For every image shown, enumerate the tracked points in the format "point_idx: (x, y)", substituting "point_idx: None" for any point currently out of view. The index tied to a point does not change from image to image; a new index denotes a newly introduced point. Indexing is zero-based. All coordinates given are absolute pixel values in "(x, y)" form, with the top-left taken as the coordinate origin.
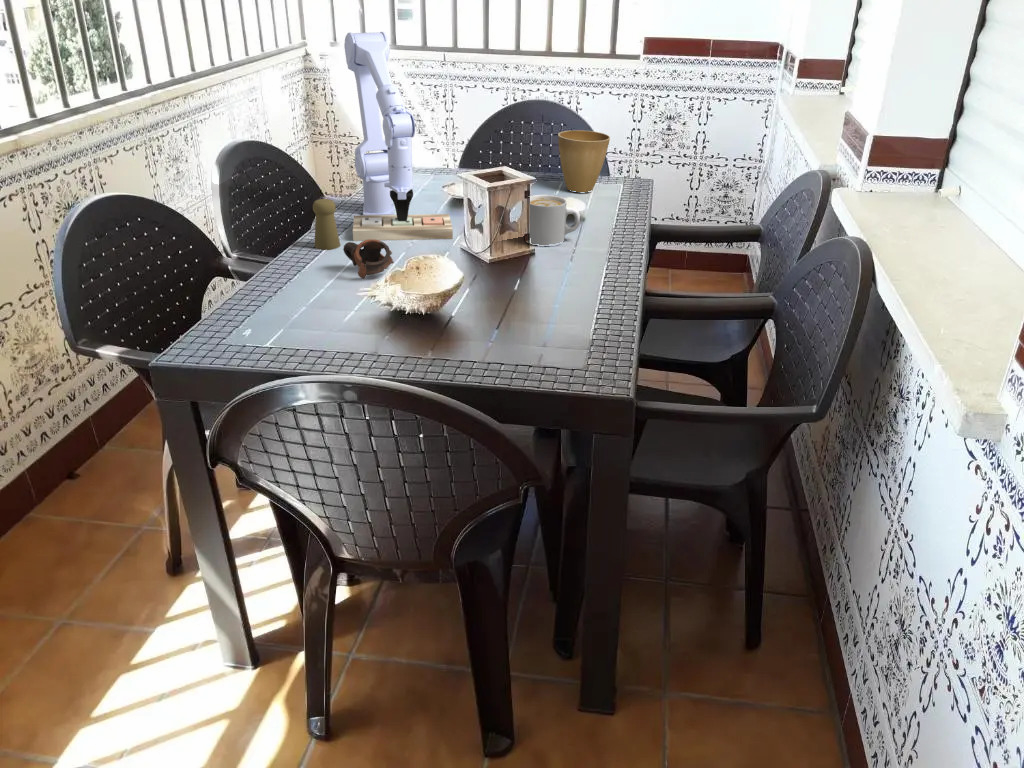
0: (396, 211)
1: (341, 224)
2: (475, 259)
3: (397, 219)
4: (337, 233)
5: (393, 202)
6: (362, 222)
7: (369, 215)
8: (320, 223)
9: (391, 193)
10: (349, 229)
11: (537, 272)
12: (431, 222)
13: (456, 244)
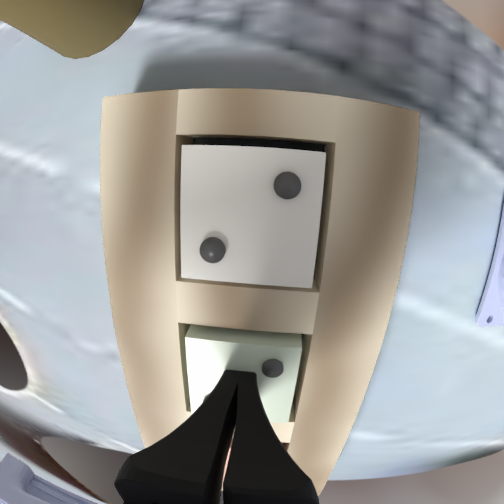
0: (202, 403)
1: (413, 56)
2: (42, 433)
3: (261, 367)
4: (45, 38)
5: (161, 440)
6: (211, 149)
7: (407, 212)
8: None
9: (158, 493)
10: (327, 80)
11: (30, 465)
12: None
13: (120, 446)
